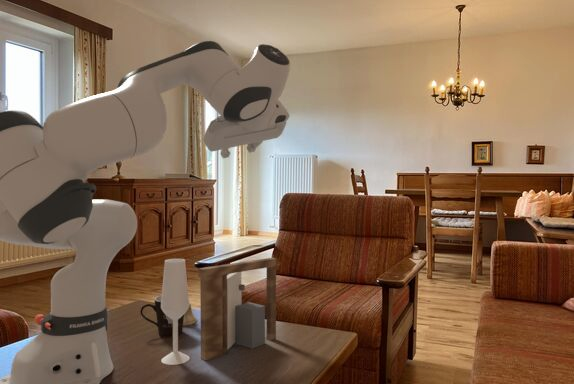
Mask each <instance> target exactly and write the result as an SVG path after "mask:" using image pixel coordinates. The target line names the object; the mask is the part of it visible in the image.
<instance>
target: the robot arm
mask: <svg viewBox="0 0 574 384" xmlns="http://www.w3.org/2000/svg"><path fill="white" fill-rule="evenodd" d="M290 68H291V63H290V60H289V58H288V56H287V55H286V54H285V53H284V52H282V51H281V49H279V48H277V47H275V46H272V45H269V44H265V43H263V44H258V46H256V48H255V49H254V51H253V53H252V55H251V57H250V60H249V61H248V62H247V63H246V64H244V65H243V66H242V67H241V66H240V65H239V64H238V63H237V62H235V60H233V59H232V58H231V57H230V55H229V54H228V53H227V52H226V50H225V49H224V48H223V47H222V45H220V43H218V42H217V41H212V40H205V41H204V40H203V41H199V42H197V43H195V44H193V45H191V46H190V47H188V48H186V49H185V50H184V51H181V52H178V53H177V54H176V53H175V54H174V55H170V56H168V57H165V58H163V59H160V60H156V61H155V62H152V63H148V64H146V65H143V66H140V67H139V68H136V69H134V70H132V71H131V72H128V73H127V74H126V75H124V76H123V77H122V78H121V80H120V81H119V83H118V85H117V88H116V89H114V90H111V91H107V92H104V93H98V94H96V95H95V94H94V95H92V96H89V97H85V98H83V99H80V100H77V101H73V102H72V103H68V104H67V105H64V106H62V107H60V108H58V109H55V110H54V111H52V112H51V113H49V114H48V116H47V117H46V118H45V120H44V122H43V125H42V124H41V123H40V122H39V121H38V120H37V119H36V118H35V117H34V116H32V115H31V114H30V113H28V112H26V111H23V110H16V109H14V110H12V109H11V110H9V109H8V110H7V109H6V110H2V111H0V242H3V243H7V244H12V245H16V246H17V245H18V246H25V247H26V246H28V247H34V248H40V249H45V250H75V259H74V261H73V262H72V263H70V264H68V265H64V267H62V268H61V269H59V270H57V272H55V274H54V275H53V277H52V279H51V281H50V312H49V313H47V315H46V316H44V314H42V313H38V314H36V315H35V316H34V322H35V323H36V324H37V325H38V326H40V330H41V331H40V333H39V334H37V335H36V336H35V337H34V338H33V339H31V340H30V341H29V342H28V343H27V344H26V345H24V346H23V347H22V348H21V349H20V350H18V351H17V352H16V353H15V355H14V357H13V360H12V363H11V368H10V373H9V374H7V375H3V376H2V377H1V378H0V384H100V383H101V381H102V380H103V379H104V378H106V377H107V376H109V375H110V374H111V373H112V372H113V370H114V369H115V368H114V363H113V362H112V358H111V355H110V348H109V345H108V344H109V343H108V336H107V331H108V325H109V314H108V308H107V306H106V288H107V287H106V286H107V285H106V283H107V273H108V271H109V267H110V265H111V263H112V261H113V260H114V258H115V257H116V256H117V254H118V253H119V252H120V250H122V249H123V248H124V247H126V246H127V245H128V244H129V243H130V242H131V241H132V240H133V238H134V237H135V235H136V233H137V228H138V219H137V215H136V212H135V210H134V209H133V207H132V206H131V205H130V204H128V203H126V202H123V201H118V200H112V199H106V198H104V199H99V198H98V199H94V198H93V196H94V195H95V194H96V191H97V186H96V185H95V184H94V183H90V182H85V180H86V179H87V178H88V177H89V176H90V174H92V173H93V172H95V171H96V170H98V169H101V168H102V167H105V166H109V165H112V164H115V163H116V164H117V163H121V162H124V161H126V160H129V159H133V158H136V157H139V156H142V155H145V154H147V153H148V152H150V151H152V150H153V149H155V148H156V147H158V146H159V144H160V143H161V141H162V140H163V138H164V136H165V133H166V131H167V123H168V120H167V119H168V118H167V117H168V115H167V108H166V104H165V101H164V100H163V98H162V94H164V93H166V92H168V91H171V90H173V89H175V88H177V87H180V86H182V85H185V86H188V87H190V88H192V89H193V90H195V91H196V92H197V93H199V95H201V97H202V98H203V99H204V100H205V101H206V102H207V103H208V104H209V105H210V106H211V107H212V109H214V110H215V111H216V112H217V113H218V114H219V116H217V117H216V118H214V119H212V120H211V121H210V123H209V124H208V127H207V128H206V130H205V133H204V135H203V138H202V141H203V143H204V145H205V147H206V148H207V149H208V150H209V151H210V152H216V151H220V155H221V158H222V159H228V158H230V155H231V152H230V151H229V149H231V148H235V147H242V146H246V150H247V151H248V153H249V154H250V153H255V152H256V149H257V148H258V147H259V146H260V145H261V144H262V143H263V142H264V141H265V142H266V141H269V140H273V139H278V138H279V137H280V136H281V135H282V134H283V132H284V130H285V128H286V125H287V121H288V120H289V118H290V113H289V111H288V110H287V109H286V107H285V105H284V104H282V102H281V101H280V100H279V98H281V96H282V95H283V92H284V90H285V87H286V83H287V81H288V78H289V74H290V70H291V69H290Z"/></svg>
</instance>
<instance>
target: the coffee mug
mask: <svg viewBox="0 0 574 384" xmlns="http://www.w3.org/2000/svg"><path fill="white" fill-rule="evenodd" d="M161 298H162V295H158V296H156V297H154V304H151V303H146V304H145V305H143V306H141V308H140V311H139V312H140V315H141V316H142V317H143V318H144V320H146V321H148V322H149V323H150V324H153V325H155V326H156V327H157V330H158V331H157V332H158V336H160V337H162V338H173V320H172V319H170V318H169V317H168V316H167V315H165V314H164V312H163V311H162V309H161ZM146 307H147V308H148V307H151V308H152V309H153V310H154V312H155V315H156V321H155V320H152V319H150V318H149V317H148V318H147V316H145V314H143V310H144V309H145V308H146ZM183 320H184V315H183V316H182V317H181V318H179V319H178V336H180V335H182V333H183V327H184V326H183Z"/></svg>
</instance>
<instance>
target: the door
mask: <svg viewBox="0 0 574 384" xmlns="http://www.w3.org/2000/svg"><path fill="white" fill-rule="evenodd" d="M245 289H246V285H245V284H243V283H242V272H237V273H231V274H227V351H228V350H229V349H230V348H231V347H232V346H233V345H234V344H235V306H237V305H240V304H242V291H245Z"/></svg>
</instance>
